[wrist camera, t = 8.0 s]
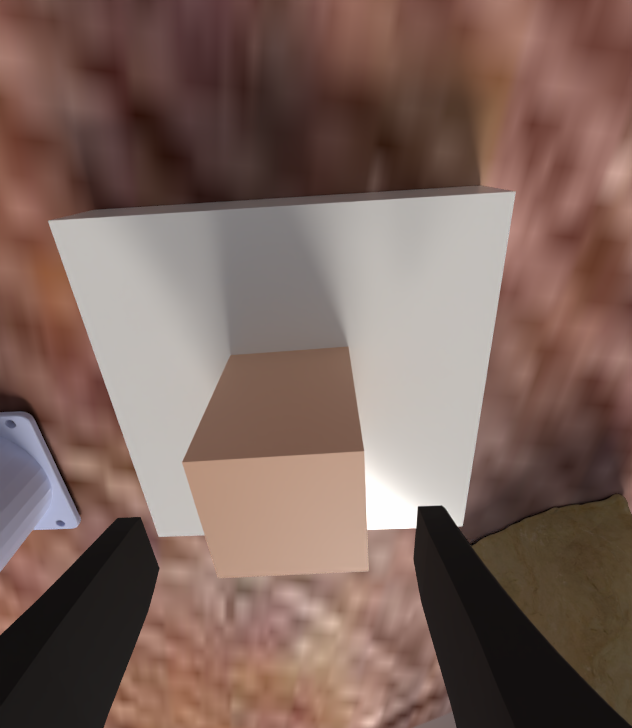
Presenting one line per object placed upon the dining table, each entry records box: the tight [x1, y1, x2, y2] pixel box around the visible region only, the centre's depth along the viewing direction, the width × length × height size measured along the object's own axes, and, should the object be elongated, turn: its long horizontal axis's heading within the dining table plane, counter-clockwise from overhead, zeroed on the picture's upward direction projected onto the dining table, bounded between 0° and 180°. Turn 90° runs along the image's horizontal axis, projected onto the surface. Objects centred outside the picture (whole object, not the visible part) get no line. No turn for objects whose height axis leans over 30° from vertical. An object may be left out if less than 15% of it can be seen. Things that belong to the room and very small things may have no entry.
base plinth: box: [48, 185, 516, 537], centre depth 17 cm, size 15×15×3 cm
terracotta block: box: [182, 347, 369, 578], centre depth 13 cm, size 4×4×6 cm
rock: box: [471, 494, 632, 726], centre depth 21 cm, size 11×9×10 cm
